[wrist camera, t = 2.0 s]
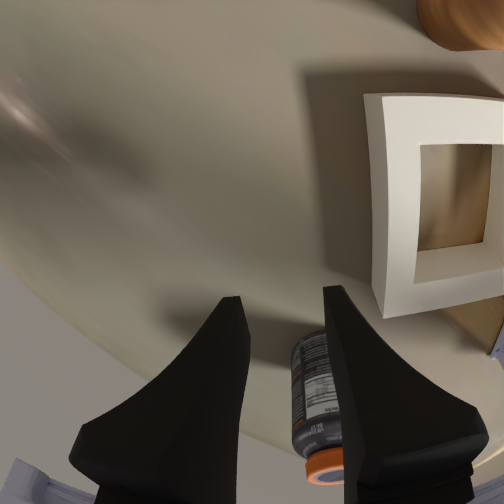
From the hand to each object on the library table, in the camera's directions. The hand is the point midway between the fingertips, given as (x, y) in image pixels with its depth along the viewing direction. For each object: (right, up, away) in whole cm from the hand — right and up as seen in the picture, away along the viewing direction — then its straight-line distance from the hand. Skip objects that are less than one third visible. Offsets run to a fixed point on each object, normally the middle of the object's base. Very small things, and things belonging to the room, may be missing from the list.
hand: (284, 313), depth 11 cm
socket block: (+12, +6, +6) cm, 14 cm away
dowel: (+10, +16, +1) cm, 19 cm away
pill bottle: (+5, -6, +14) cm, 16 cm away
